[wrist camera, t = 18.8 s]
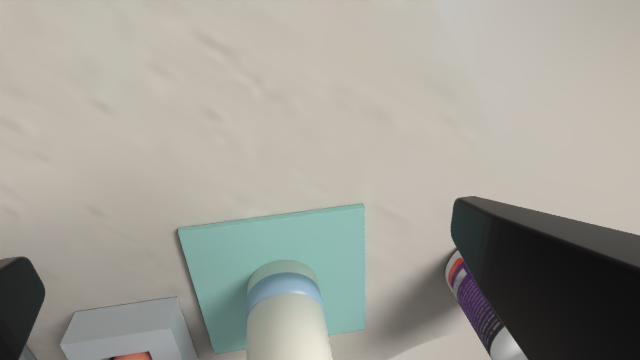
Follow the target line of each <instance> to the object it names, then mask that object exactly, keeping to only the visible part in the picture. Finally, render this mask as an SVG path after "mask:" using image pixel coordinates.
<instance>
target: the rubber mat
mask: <svg viewBox="0 0 640 360" xmlns="http://www.w3.org/2000/svg"><path fill="white" fill-rule="evenodd" d="M178 235H179V238H180V241H181V245H182V248H183V251H184V255H185V258H186V261H187V265H188V268H189V271H190V275H191V278H192V281H193V285H194V288H195V291H196V295H197V298H198V301H199V305H200V308H201V311H202V315H203V318H204V321H205V325H206V328H207V331H208V334H209V338H210V341H211V344H212V348H213V351H214V354H219V353H225V352H231V351H237V350H243V349H247V327H246V300H247V286H248V281H249V279H250V277H251V276H252V274H253V273H254V272H255V271H256V270H257V269H258V268H260V267H261V266H263V265H265V264H267V263H270V262H273V261H277V260H295V261H298V262H301V263H304V264H305V265H307V266H309V267H310V268H311V269H312V270H313V271H314V273H315V275H316V277H317V281H318V286H319V289H320V292H321V297H322V302H323V307H324V312H325V322H326V327H327V332H328V335H334V334H340V333H347V332H353V331H359V330H365V207H364V205H363V204H356V205H349V206H341V207H334V208H326V209H319V210H311V211H304V212H296V213H289V214H281V215H274V216H266V217H259V218H251V219H244V220H236V221H228V222H221V223H213V224H206V225H198V226H191V227H183V228H179V229H178Z"/></svg>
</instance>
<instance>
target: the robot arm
mask: <svg viewBox="0 0 640 360" xmlns="http://www.w3.org/2000/svg"><path fill="white" fill-rule="evenodd" d="M451 236H452V239H453V241H454V243H455V245H456V247H457V249H458V251H459V253H460V255H461V256H462V258H463V260H464V262H465V264H466V266H467V268H468V270H469V272H470V273H471V275H472V277H473V279H474V281H475V283H476V284H477V286H478V288H479V289H480V291H481V293H482V294H483V296H484V297H485V298H486V300H487V301H488V303H489V304H490V306H491V307H492V309H493V310H494V311H495V313H496V314H497V316H498V317H499V319H500V320H501V322H502V323H503V324H504V326H505V327H506V329H507V330H508V332H509V333H510V334H511V336H512V337H513V339H514V340H515V342H516V343H517V345H518V346H519V347H520V349H521V350H522V352H523V353H524V355H525V356H526V357H527V359H528V360H640V236H639V235H636V234H632V233H627V232H623V231H619V230H615V229H610V228H606V227H602V226H598V225H594V224H589V223H585V222H581V221H577V220H573V219H568V218H564V217H560V216H556V215H551V214H547V213H543V212H539V211H535V210H530V209H526V208H522V207H518V206H514V205H509V204H505V203H501V202H497V201H493V200H488V199H484V198H480V197H476V196H469V197H461V198H457V199H456V200H455V202H454V206H453V213H452V221H451ZM44 298H45V288H44V285H43V283H42V281H41V279H40V277H39V276H38V274H37V272H36V270H35V268H34V267H33V265H32V263H31V261H30V260H29V259H28V258H26V257H23V256H21V257H13V258H5V259H2V260H0V360H19V359H20V356H21V354H22V352H23V350H24V347H25V345H26V342H27V340H28V337H29V335H30V333H31V330H32V328H33V325H34V323H35V320H36V318H37V316H38V313H39V311H40V308H41V306H42V303H43V301H44Z"/></svg>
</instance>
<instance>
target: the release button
mask: <svg viewBox="0 0 640 360" xmlns="http://www.w3.org/2000/svg"><path fill="white" fill-rule="evenodd" d="M114 360H153V359H152V357H151V355H150V352H149V351H147V352H140V353H134V354H128V355H122V356H116V357H114Z"/></svg>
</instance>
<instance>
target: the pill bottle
mask: <svg viewBox="0 0 640 360" xmlns="http://www.w3.org/2000/svg"><path fill="white" fill-rule="evenodd" d="M445 276H446V281H447V283H448V285H449V287H450V289H451V291H452V293H453V295H454V296H455V298H456V299H457V301H458V303H459V305H460V306H461V308H462V310H463V311H464V313H465V315H466V316H467V318H468V320H469V322H470V323H471V325H472V327H473V328H474V330H475V332H476V333H477V335H478V337H479V339H480V340H481V342H482V343H483V345H484V347H485V349H486V350H487V352H488V354H489V356H490V357H491V359H492V360H528V359H527V357H526V356H525V355H524V353H523V352H522V350H521V349H520V347H519V346H518V345H517V343H516V342H515V340H514V339H513V337H512V336H511V334H510V333H509V332H508V330H507V329H506V327H505V326H504V324H503V323H502V322H501V320H500V319H499V317H498V316H497V314H496V313H495V311H494V310H493V309H492V307H491V306H490V304H489V303H488V301H487V300H486V298H485V297H484V296H483V294H482V293H481V291H480V289H479V288H478V286H477V284H476V283H475V281H474V279H473V277H472V275H471V273H470V272H469V270H468V268H467V266H466V264H465V262H464V260H463V258H462V256H461V255H460V253H459V251H458V250H457V251H456V252H455V253H454V254H453V256H452V257H451V259H450V260H449V262H448V264H447V267H446V273H445Z"/></svg>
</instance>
